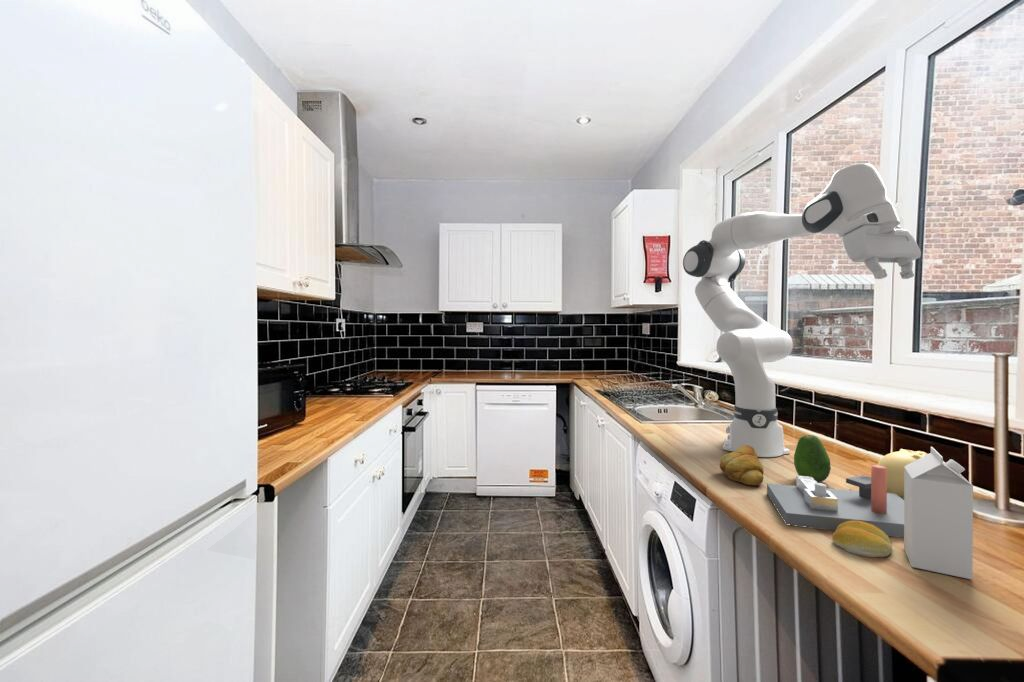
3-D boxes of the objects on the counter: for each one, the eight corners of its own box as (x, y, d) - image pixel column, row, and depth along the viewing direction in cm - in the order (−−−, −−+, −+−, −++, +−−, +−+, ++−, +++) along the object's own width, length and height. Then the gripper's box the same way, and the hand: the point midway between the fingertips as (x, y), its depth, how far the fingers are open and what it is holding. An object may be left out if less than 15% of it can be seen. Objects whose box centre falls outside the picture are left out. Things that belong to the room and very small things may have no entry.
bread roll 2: (829, 548, 79) (829, 527, 79) (838, 531, 86) (838, 511, 85) (889, 565, 73) (889, 542, 73) (894, 546, 80) (894, 524, 79)
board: (767, 493, 104) (766, 464, 104) (895, 504, 96) (895, 473, 96) (786, 525, 88) (786, 490, 88) (942, 541, 80) (942, 503, 80)
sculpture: (961, 508, 94) (961, 458, 94) (896, 505, 96) (896, 456, 96) (922, 488, 105) (922, 444, 105) (865, 486, 108) (865, 442, 107)
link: (837, 511, 88) (837, 499, 88) (811, 508, 90) (811, 496, 90) (815, 487, 101) (815, 477, 101) (792, 485, 102) (792, 475, 102)
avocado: (790, 475, 116) (790, 430, 116) (825, 478, 114) (825, 432, 113) (798, 485, 109) (798, 438, 109) (836, 489, 106) (835, 440, 106)
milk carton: (911, 568, 72) (912, 454, 71) (903, 549, 78) (903, 443, 77) (972, 581, 68) (973, 460, 68) (959, 560, 74) (960, 449, 73)
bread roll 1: (772, 489, 107) (772, 457, 107) (730, 487, 109) (729, 456, 109) (753, 472, 120) (753, 443, 120) (715, 471, 122) (715, 442, 121)
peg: (868, 508, 89) (868, 464, 89) (883, 509, 89) (883, 465, 88) (874, 513, 87) (874, 468, 87) (889, 514, 86) (889, 469, 86)
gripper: (888, 233, 110) (908, 283, 107) (831, 230, 104) (851, 283, 100) (916, 219, 105) (939, 272, 101) (858, 215, 98) (880, 271, 94)
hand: (895, 278), depth 100 cm, fingers open, 8 cm apart
